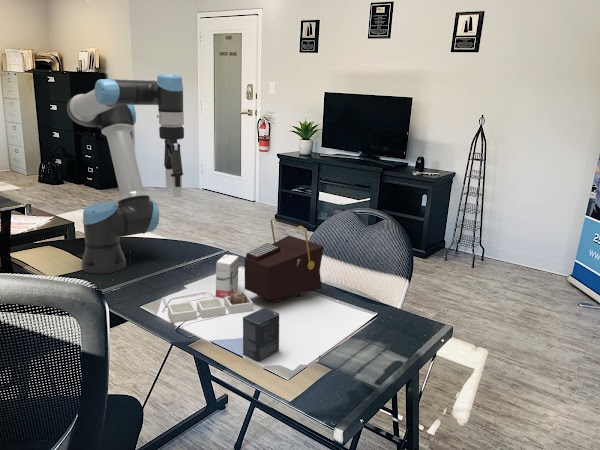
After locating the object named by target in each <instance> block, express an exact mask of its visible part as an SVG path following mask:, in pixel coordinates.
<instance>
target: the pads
mask: <svg viewBox="0 0 600 450" xmlns="http://www.w3.org/2000/svg"><path fill="white" fill-rule="evenodd" d="M161 299H162V301H163V305H164V306H165V308H168V304H167V302H166V299H165V297H161Z"/></svg>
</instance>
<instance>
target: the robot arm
mask: <svg viewBox="0 0 600 450" xmlns="http://www.w3.org/2000/svg"><path fill="white" fill-rule="evenodd" d="M135 106H158V107H157V108H158V114H156V118H157V119H158V125H161V126H159V127H158V132H159V133H158V134H159V138H160V139H161V140H164V156H163V157H164V162H163V166H164V169H165V189H166V190H170V189H171V190H172V197H173V198H182V197H183V180H182V176H184V172H183V163H182V155H181V154H182V153H181V144H180V143H178V140H183V139H184V138H185V127H184V126H183V125H184V124H185V117H184V116H185V115H184V114H185V113H184V86H183V77H182V76H181V75H179V74H169V73H168V74H162V73H160V74H158V75H157V78H156V80H150V79H149V80H143V79H142V80H140V79H139V80H138V79H137V80H135V79H133V80H132V79H117V78H116V79H113V78H106V79H105V78H104V79H102V78H100V79H98V80H97V81H96V82H95V85H94V88H93V90H90V91H89V92H87V93H80V94H79V93H78V94H76V95H74V96H73V97H71V98H70V99H69V100H68V103H67V105H66V109H67V110H66V111H67V114H68V116H69V117H70V119H71V120H72V121H73V122H74V123H76V124H78V125H81V126H82V127H83V126H84V127H86V128H87V127H89V128H100V131H101V134H102V135H104V136H105V137H106V139H107V143H108V147H109V151H110V152H109V153H110V156H111V161H112V164H113V168H114V173H115V178H116V182H117V186H118V190H119V195H120V196H119V199H118V200H117V203H116V202H114V201H106V202H105V201H102V202H95V203H93V204H91V205H88V206H86V207H85V208H84V210H83V211H82V215H83V216H82V224H83V233H84V246H85V247H84V248H85V250H84V253H83V257H82V260H81V270H82V271H83V272H85V273H88V274H94V275H95V274H96V275H98V274H111V273H114V272H118V271H120V270H121V271H122V270H123V269H124V268H126V266H127V259H126V257H125V254H124V252H123V250H122V246H121V244H120V238H121V237H123V238H124V237H129V236H135V235H139V234H140V235H141V234H143V235H144V234H146V233H151V232H154V231H155V230H156V229H157V227H158V225H159V221H160V209H159V206H158V204H157V202H156V201H154V200H151V198H150V195H149V194H148V193H146V192H145V191H144V186H143V182H142V177H141V173H140V170H139V166H138V165H139V164H138V161H137V157H136V153H135V152H136V151H135V148H134V143H133V139H132V135H131V132H132V131H133V129H134V125H136V123H137V112H136V109H135Z"/></svg>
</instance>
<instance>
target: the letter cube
mask: <svg viewBox="0 0 600 450" xmlns="http://www.w3.org/2000/svg"><path fill="white" fill-rule="evenodd" d="M245 294H246V293H244V292H243V291H239V292H235V293H232V294H230V303H231V304H232V305H235V304H242V303H247V297H246V295H245Z"/></svg>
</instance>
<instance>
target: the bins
mask: <svg viewBox="0 0 600 450" xmlns="http://www.w3.org/2000/svg"><path fill="white" fill-rule="evenodd" d="M244 294H245V295H246V297H247V303H242V304H235V305H232V304H231V303H230V296H228V297H224V298H223V299H224V300H223V301H224V302H223V301H222V299H221V297H215V298H209V299H207V298H206V299H200V300H196V307H195V305H194V303H193V301H192V300H191V301H183V302H178V303H170V304H167V306H168V307H167V314H168V317H169V319H170V323H171V325H175V323H180V322H185V321H191V320H192V321H193V320H197V318H198V317H197V316H198V314H197V312H198V313H199V315H200V317H201V319H206V318H212V317H213V318H214V317H218V316H219V317H220V316H226V309H227V311H228V313H229V314H230V315H233V314H240V313H246V312H254V302H253V301H252V299H251V298H250V297H249V295H248V294H247V293H244Z"/></svg>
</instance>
